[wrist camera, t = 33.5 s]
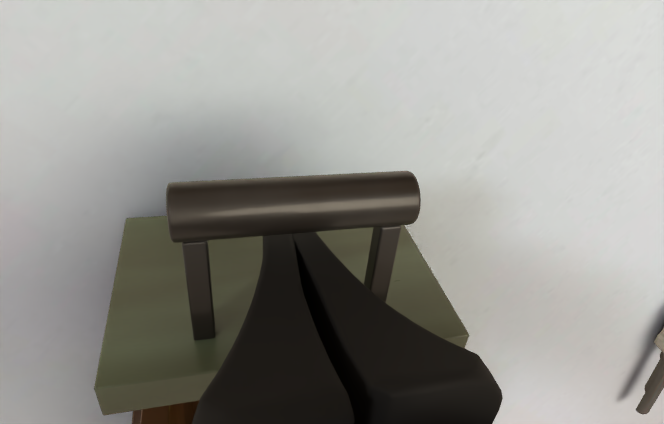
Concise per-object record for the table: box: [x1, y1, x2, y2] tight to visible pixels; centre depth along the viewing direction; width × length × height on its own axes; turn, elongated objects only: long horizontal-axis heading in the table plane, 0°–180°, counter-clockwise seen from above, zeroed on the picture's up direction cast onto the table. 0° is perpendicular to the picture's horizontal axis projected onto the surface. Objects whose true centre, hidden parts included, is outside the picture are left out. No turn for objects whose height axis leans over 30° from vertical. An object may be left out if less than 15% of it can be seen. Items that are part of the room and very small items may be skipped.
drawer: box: [94, 171, 469, 424], centre depth 19 cm, size 19×10×7 cm, turn 175°
